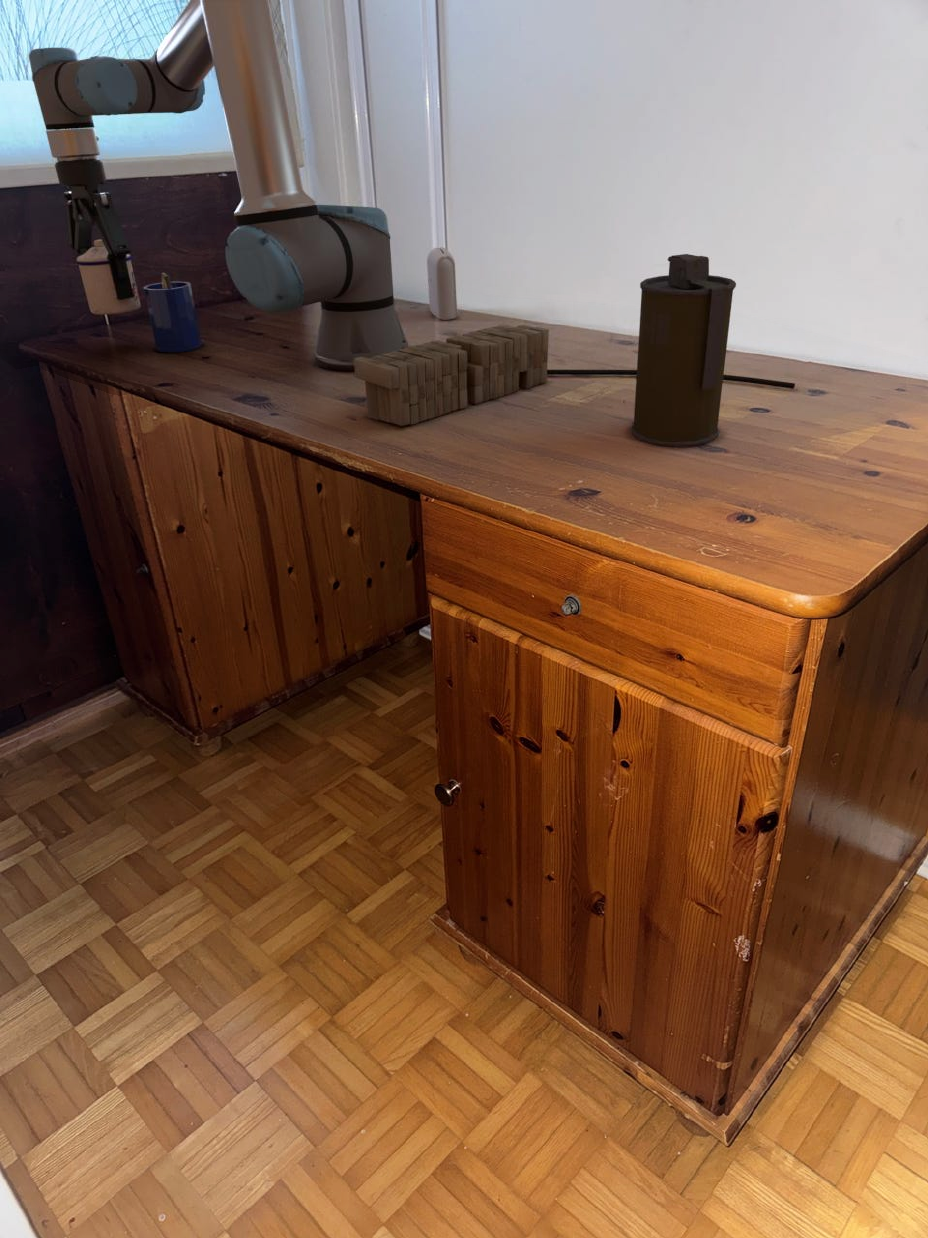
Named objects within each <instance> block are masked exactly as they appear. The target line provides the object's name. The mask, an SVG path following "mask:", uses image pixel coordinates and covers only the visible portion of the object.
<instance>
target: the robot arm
mask: <svg viewBox="0 0 928 1238" xmlns="http://www.w3.org/2000/svg"><path fill="white" fill-rule="evenodd" d="M28 60H29V65H30V71H31V81H32V82H33V85H34V89H35V93H36V97H37V101H38V104H39V108H40V113H41V115H42V119H43V123H44V126H45V129H46V130H45V134H46V137H47V141H48V146H49V149H50V153H51V156H52V158H53V159H56V162H55V164H54V167H55V168H54V169H55V172H56V176H57V179H58V184H59V185H60V186H61V187H63V188H68V187H69V188H70V191H64V192H63V193H62V196H63V200H64V205H65V212H66V213H65V214H66V222H67V233H68V243H69V244H68V245H69V249H71V250H74V252H75V254H76V255H77V258H78V257H79V256H81V255H83V254H85V253H86V252H87V251H88V250H89V249H90V248H92V247H93V246H92V237H93V236H92V235H93V227H94V228H95V230H96V232H97V234H98V236H99V238H100V240H102V242H103V244H104V246H105V248H106V250H107V251H108V253H109V254H108V255H107V260H108V261H109V265H110V269H111V274H112V278H113V282H114V286H115V291H116V295H117V299H118V300H122V299H128V298H134V295H133V290H132V286H131V281H130V277H129V273H128V268H127V264H126V259H125V257H126V256H127V254H130V255H131V248H130V246H129V243H128V240H127V238H126V236H125V233H124V231H123V227H122V225H121V223H120V220H119V218H118V215H117V213H116V210H115V207H114V203H113V199H112V196H111V193H110V192H108V191H107V192H101V190H100V187H99V185H104V184H106V183H107V176H106V172H105V168H104V163H103V161H102V159H100V158H98V156H100V154H101V151H100V147H99V141H100V137H99V135H98V134H97V133H96V129H95V124H94V120H93V116H94V117H95V116H108V117H109V116H119V115H120V116H121V115H138V114H139V115H140V114H141V115H143V114H184V113H187V112H194V111H196V110H198V109H200V107H201V106H202V104H203V103H204V96H205V94H206V87H205V81H204V79H205V78H206V77H207V76H208V75H209V73H210V72H211V71H212V69H214V72H215V76H216V82H217V86H218V91H219V95H220V100H221V104H222V109H223V113H224V119H225V124H226V129H227V135H228V139H229V144H230V148H231V153H232V157H233V162H234V167H235V171H236V176H237V182H238V186H239V190H240V195H241V196H240V197H241V200H240V202H239V204H238V205H237V207H236V209H235V211H234V212H233V216H234V220H235V225H236V228H235V229H233V230H232V232H231V233H230V234H229V236H228V237H227V241H226V243H227V246H226V247H225V261H226V266H227V269H228V273H229V275H230V277H231V280H232V282H233V284H234V286H235V287H236V289H237V290H238V292H239V293H240V295H241V296H242V297H243V298H244V299H246V300H247V302H248V303H249V304H251V305H252V306H253V307H255V308H256V309H257V310H260V311H262V312H266V313H276V312H284V311H285V312H286V311H295V310H297V309H298V308H300V307H305V306H309V305H314V304H318V303H320V308H321V316H320V323H319V326H318V333H317V339H316V345H315V346H314V347H315V349H314V356H315V362H316V365H318V366H320V367H321V368H323V369H329V370H334V371H349V372H350V371H351V372H352V371H354V372H355V365H354V359H355V358H358V357H364V358H372V357H374V356H378V355H380V356H381V355H382V354H386V353H390V352H394V351H398V350H399V349H404V348H406V347H409V344H408V343H409V342H408V340H407V338H406V336H405V333H404V330H403V327H402V324H401V322H400V320H399V317H398V314H397V312H396V307H395V297H394V281H393V269H392V267H393V265H392V252H391V234H390V231H389V224H388V217H387V214H386V213H385V211H384V210H382V209H381V208H380V207H373V206H359V205H356V206H355V205H338V204H337V205H336V204H335V205H334V204H333V205H332V204H317V201H316V200H314V199H313V198H312V197H311V196H309V195H308V194H307V193H306V192H305V190H304V187H303V181H302V176H301V171H300V165H299V164H300V163H299V158H298V153H297V149H296V142H295V137H294V130H293V126H292V120H291V115H290V110H289V103H288V98H287V93H286V87H285V81H284V76H283V70H282V64H281V59H280V54H279V49H278V42H277V37H276V31H275V26H274V21H273V16H272V10H271V3H270V0H189V2H188V3H187V4H186V6H185V8H184V9H183V11H182V12H181V13H180V15H179V17H178V18H177V20H176V21H175V23H174V24H173V26H172V27H171V29H170V30H169V32H168V33H167V34H166V36H165V37H164V39H163V40H162V42H161V43H160V45H158V48H157V49H156V50H155V52H154V53H153V55H152V56H151V57H150V58H116V57H113V56H106V55H105V56H103V55H101V56H97V55H95V56H91V57H90V58H85V59H84V58H83V59H80V58H79V55H78V53H77V51H76V50H75V49H74V48H71V47H42V48H40V47H39V48H34V49H31V50H30V52H29V53H28ZM547 376H637V369H547ZM723 381H729V382H736V383H737V382H738V383H747V384H755V385H762V386H770V387H778V388H783V389H784V388H785V389H791V390H795V387H796V382H787V381H780V380H774V379H765V378H759V377H750V376H741V375H733V374H732V375H731V374H724V375H723Z"/></svg>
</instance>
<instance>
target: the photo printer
mask: <svg viewBox="0 0 928 1238" xmlns="http://www.w3.org/2000/svg"><path fill="white" fill-rule="evenodd" d="M426 267H427V285H428V299H429V310H430V313H431V314H432V315H433V316H434V317H436V318H437V319H439V320H441V321H449V320H455V319H456V318H457V317H458V299H457V279H456V277H457V276H456V262H455V259H454V257H453V254H452V253H451V252H450V251H449V250H448V249H447V248H445V247H443V246H441V247H434V248H433V249H431V250H430V251H429V253H428V255H427V257H426Z"/></svg>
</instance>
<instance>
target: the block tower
mask: <svg viewBox="0 0 928 1238" xmlns="http://www.w3.org/2000/svg"><path fill="white" fill-rule="evenodd" d="M549 338H550V330H549V328H545V327H539V326H532V325H527V324H526V325H525V324H520V325H517V326H514V325H511V324H505V323H503V324H502V323H501V324H498V325H495V326H491V327H485V328H481V329H477V330H474V331H470V332H468V333H463V334H458V335H454V336H451V337H446V340H445V341H441V340H438V339H437V340H431V341H429V342H424V343H422V344H416V345H410V346H409V345H408V347H406V348H404V349H399V350H398V351H394V352H390V353H386V354H382V355H381V356H380V355H378V356H374V357H372V358H364V357H358V358H355V359H354V365H355V371H354V377H355V378H356V379H359V380H362V381H364V385H365V387H364V388H365V399H366V412H367V415H366V416H367V418H369V419H372V420H376V421H383V422H385V423H390V424H394V425H397V426H401V427H404V426H407V425H411V426H413V425H416V424H419V423H421V422H424V421H427V420H431V419H434V418H436V417H441V416H443V415H447V414H451V412H454V411H457V410H462V409H466V408H467V407H468V403H471V404H473V405H474V404H475V405H477V404H480V403H483V402H488V401H489V400H493V399H496V398H501V397H504V396H507V395H510V394H512V393H514V392H518V391H520V390H519V389H520V388H521V389H530V388H532V387H534V386H538V385H543V384H546V383H547V382H548V375H547V370H548V363H549V360H548V359H549Z"/></svg>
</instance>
